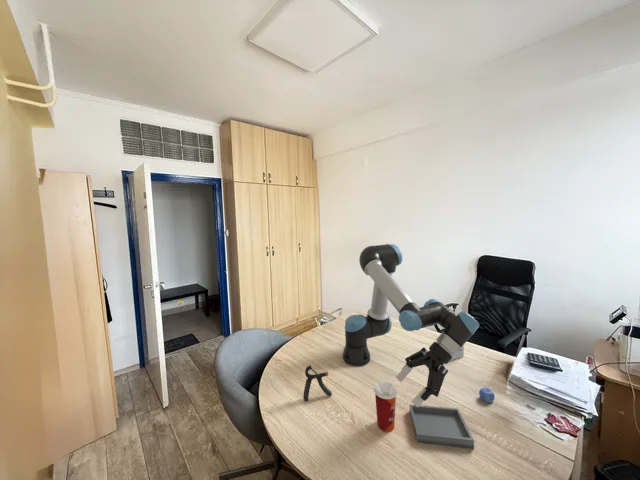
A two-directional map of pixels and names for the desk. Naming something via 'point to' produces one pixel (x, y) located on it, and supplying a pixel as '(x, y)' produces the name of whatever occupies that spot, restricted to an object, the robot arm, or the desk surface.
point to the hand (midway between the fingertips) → (405, 391)
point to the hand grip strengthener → (319, 379)
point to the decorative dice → (486, 394)
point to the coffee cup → (385, 405)
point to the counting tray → (440, 426)
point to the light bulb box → (458, 353)
